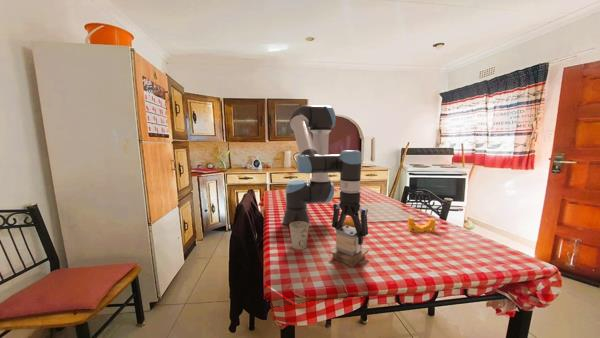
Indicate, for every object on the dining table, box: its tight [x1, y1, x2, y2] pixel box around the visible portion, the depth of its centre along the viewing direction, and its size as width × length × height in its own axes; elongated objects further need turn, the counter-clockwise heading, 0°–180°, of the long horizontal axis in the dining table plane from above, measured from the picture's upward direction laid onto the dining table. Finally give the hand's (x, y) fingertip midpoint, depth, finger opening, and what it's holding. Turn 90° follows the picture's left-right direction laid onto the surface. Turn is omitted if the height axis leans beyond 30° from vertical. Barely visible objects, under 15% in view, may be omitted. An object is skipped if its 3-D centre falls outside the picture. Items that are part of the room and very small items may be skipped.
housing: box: [335, 225, 357, 256], centre depth 87 cm, size 7×7×8 cm
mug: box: [288, 221, 310, 250], centre depth 99 cm, size 8×13×10 cm, turn 28°
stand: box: [328, 246, 369, 267], centre depth 88 cm, size 11×11×3 cm
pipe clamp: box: [407, 216, 436, 233], centre depth 114 cm, size 12×4×6 cm, turn 76°
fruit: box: [342, 217, 355, 228], centre depth 109 cm, size 10×10×8 cm
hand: (348, 248), depth 87 cm, fingers closed on housing, 7 cm apart
